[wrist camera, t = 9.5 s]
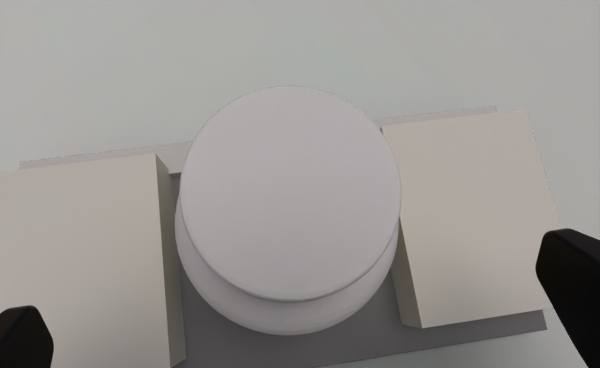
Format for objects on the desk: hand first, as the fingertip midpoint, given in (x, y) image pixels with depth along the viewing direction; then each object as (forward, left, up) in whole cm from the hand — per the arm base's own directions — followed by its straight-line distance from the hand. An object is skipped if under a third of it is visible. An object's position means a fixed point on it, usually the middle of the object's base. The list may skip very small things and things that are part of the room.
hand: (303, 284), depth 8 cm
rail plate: (+1, +1, -10) cm, 11 cm away
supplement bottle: (+1, +1, -9) cm, 10 cm away
